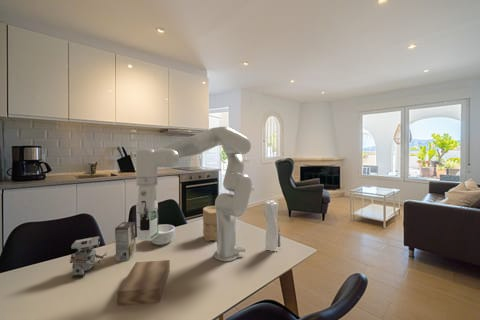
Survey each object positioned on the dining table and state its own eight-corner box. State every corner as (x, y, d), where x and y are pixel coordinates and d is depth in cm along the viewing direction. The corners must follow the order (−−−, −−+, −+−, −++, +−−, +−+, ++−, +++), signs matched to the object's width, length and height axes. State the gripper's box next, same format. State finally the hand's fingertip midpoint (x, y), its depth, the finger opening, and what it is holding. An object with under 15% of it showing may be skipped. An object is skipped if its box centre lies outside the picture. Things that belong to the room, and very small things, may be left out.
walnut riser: (169, 271, 99) (169, 260, 98) (159, 301, 79) (159, 288, 79) (136, 273, 97) (136, 262, 96) (117, 305, 77) (117, 291, 77)
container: (225, 240, 132) (225, 210, 131) (204, 242, 128) (204, 212, 127) (221, 232, 144) (221, 205, 143) (201, 234, 140) (201, 206, 139)
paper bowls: (180, 240, 132) (180, 226, 132) (159, 249, 119) (159, 235, 119) (163, 234, 140) (163, 222, 140) (142, 243, 128) (141, 229, 127)
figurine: (98, 276, 94) (97, 242, 93) (67, 279, 92) (66, 243, 92) (107, 265, 103) (106, 233, 102) (80, 267, 101) (78, 235, 101)
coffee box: (123, 252, 116) (122, 221, 116) (136, 251, 117) (135, 221, 116) (115, 261, 107) (114, 228, 106) (129, 260, 108) (128, 227, 107)
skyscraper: (278, 254, 115) (278, 200, 114) (263, 251, 118) (263, 199, 116) (280, 247, 123) (281, 197, 122) (266, 245, 126) (266, 196, 124)
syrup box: (150, 241, 83) (150, 203, 83) (136, 240, 85) (135, 202, 84) (158, 235, 89) (158, 199, 88) (145, 234, 90) (145, 198, 90)
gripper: (151, 184, 78) (152, 234, 79) (161, 178, 95) (162, 219, 96) (128, 184, 77) (129, 235, 77) (143, 178, 94) (143, 220, 95)
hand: (147, 226), depth 87 cm, fingers closed on syrup box, 7 cm apart
